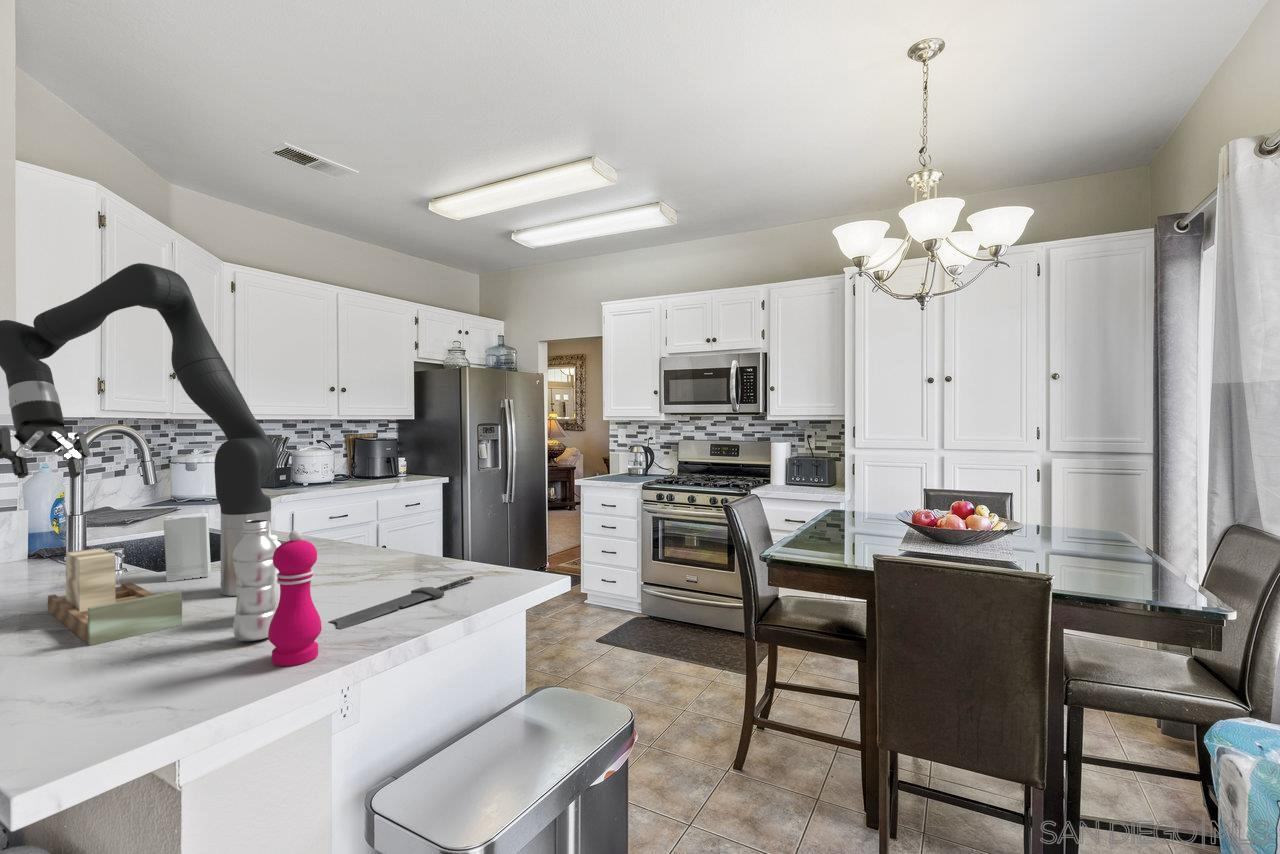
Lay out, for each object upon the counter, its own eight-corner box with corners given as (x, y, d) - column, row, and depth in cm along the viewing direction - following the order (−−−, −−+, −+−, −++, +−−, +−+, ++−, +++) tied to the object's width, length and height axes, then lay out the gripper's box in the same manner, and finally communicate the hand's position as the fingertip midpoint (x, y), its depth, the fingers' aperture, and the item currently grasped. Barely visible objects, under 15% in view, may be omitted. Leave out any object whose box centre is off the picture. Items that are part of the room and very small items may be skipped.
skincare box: (210, 572, 146) (210, 511, 146) (208, 577, 141) (208, 515, 141) (167, 577, 142) (167, 514, 142) (163, 582, 136) (163, 517, 136)
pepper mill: (282, 650, 96) (282, 526, 96) (329, 649, 97) (329, 526, 97) (258, 668, 89) (258, 534, 89) (308, 667, 90) (308, 534, 90)
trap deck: (47, 610, 116) (47, 580, 116) (130, 595, 126) (130, 567, 126) (90, 645, 98) (90, 609, 98) (182, 625, 108) (182, 591, 108)
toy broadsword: (317, 629, 109) (317, 618, 109) (461, 580, 140) (460, 571, 140) (342, 635, 106) (342, 624, 106) (484, 583, 136) (483, 575, 136)
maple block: (65, 602, 114) (65, 552, 114) (100, 596, 118) (100, 547, 118) (79, 612, 108) (79, 559, 108) (115, 605, 112) (115, 554, 112)
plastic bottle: (288, 634, 103) (288, 519, 103) (251, 648, 97) (251, 525, 97) (260, 630, 106) (260, 517, 105) (222, 643, 99) (222, 523, 99)
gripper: (1, 394, 119) (15, 468, 115) (87, 402, 132) (102, 469, 129) (-20, 411, 121) (-7, 484, 117) (66, 418, 134) (81, 484, 131)
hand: (50, 476), depth 123 cm, fingers open, 8 cm apart
